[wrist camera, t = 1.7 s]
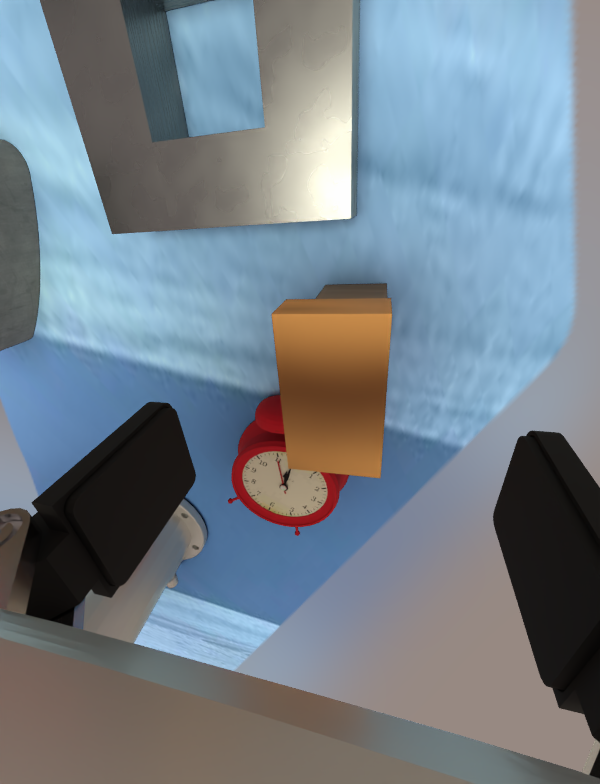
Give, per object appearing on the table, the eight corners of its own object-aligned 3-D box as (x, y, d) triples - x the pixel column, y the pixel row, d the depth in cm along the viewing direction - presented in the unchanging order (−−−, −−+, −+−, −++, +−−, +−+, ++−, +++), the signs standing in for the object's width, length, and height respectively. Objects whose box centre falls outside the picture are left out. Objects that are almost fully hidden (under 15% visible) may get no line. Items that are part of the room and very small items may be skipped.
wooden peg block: (382, 361, 24) (380, 478, 14) (327, 359, 25) (288, 468, 15) (388, 258, 21) (392, 313, 10) (324, 261, 22) (271, 314, 11)
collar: (356, 215, 20) (350, 218, 16) (152, 229, 23) (112, 234, 20) (362, -187, 13) (355, -322, 10) (71, -90, 16) (-12, -167, 13)
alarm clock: (210, 503, 31) (240, 408, 20) (238, 451, 35) (275, 351, 25) (309, 550, 31) (391, 481, 21) (325, 493, 36) (400, 411, 25)
